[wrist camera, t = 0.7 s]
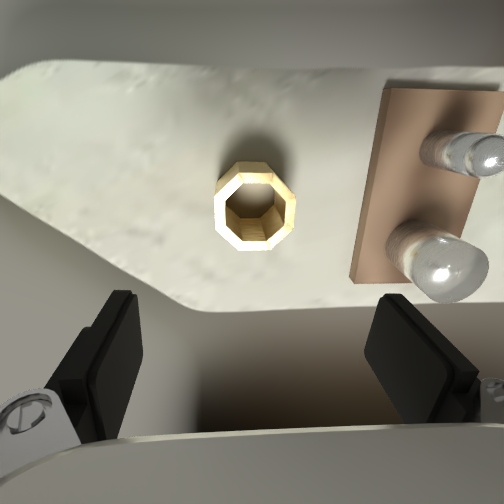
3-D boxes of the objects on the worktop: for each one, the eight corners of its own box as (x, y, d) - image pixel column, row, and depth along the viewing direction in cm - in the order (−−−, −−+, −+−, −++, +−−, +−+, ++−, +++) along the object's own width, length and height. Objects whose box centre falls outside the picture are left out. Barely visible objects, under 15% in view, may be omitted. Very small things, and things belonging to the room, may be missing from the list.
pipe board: (494, 93, 26) (509, 91, 24) (436, 275, 33) (445, 282, 32) (383, 89, 25) (392, 87, 24) (349, 276, 32) (354, 283, 31)
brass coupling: (284, 161, 27) (298, 172, 21) (280, 225, 29) (291, 250, 24) (216, 160, 26) (213, 171, 21) (218, 225, 29) (215, 250, 23)
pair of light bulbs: (470, 130, 25) (550, 135, 19) (428, 267, 31) (480, 306, 24) (411, 129, 25) (473, 133, 19) (380, 267, 30) (420, 307, 24)
